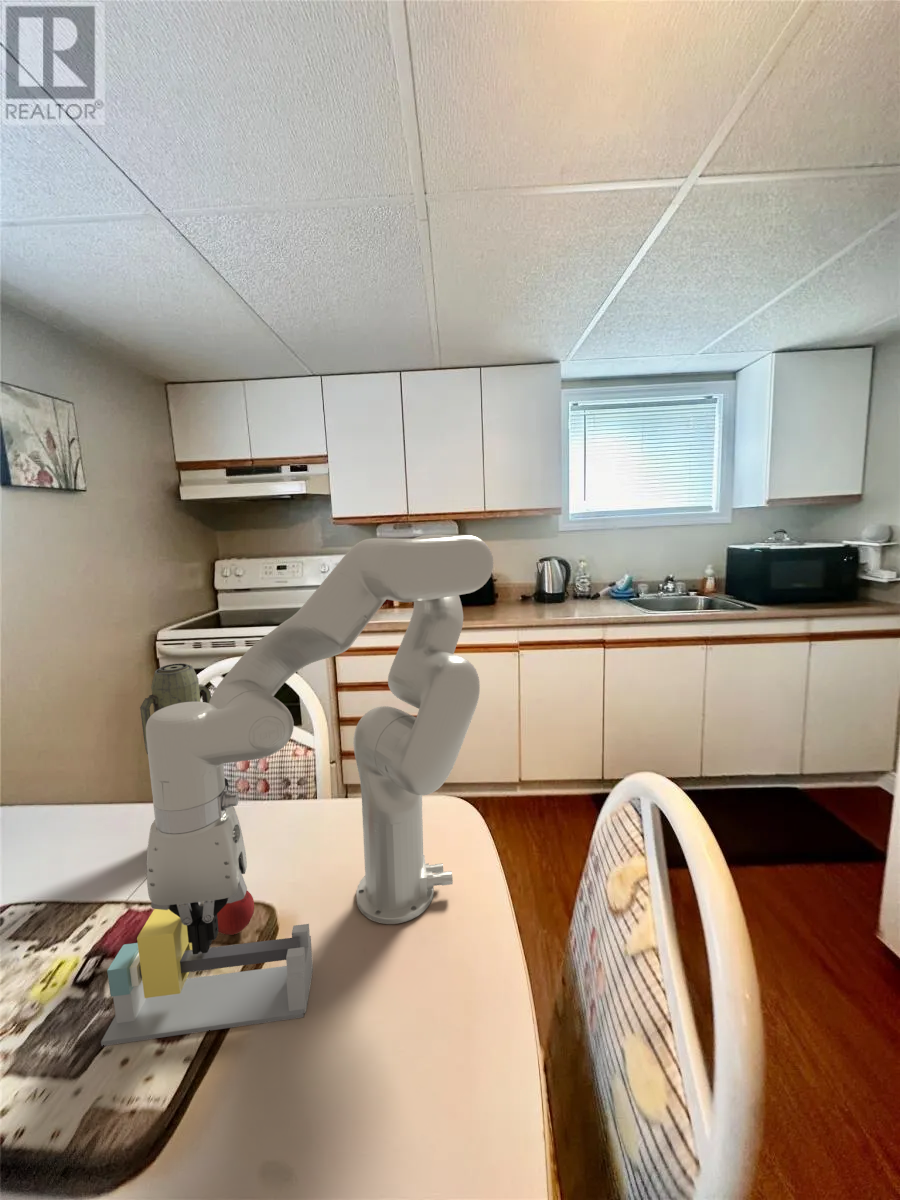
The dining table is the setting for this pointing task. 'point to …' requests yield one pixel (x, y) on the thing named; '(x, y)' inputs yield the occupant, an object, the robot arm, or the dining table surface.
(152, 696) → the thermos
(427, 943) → the dining table surface
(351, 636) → the robot arm
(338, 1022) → the dining table surface
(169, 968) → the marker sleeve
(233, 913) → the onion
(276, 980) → the grey long frame
